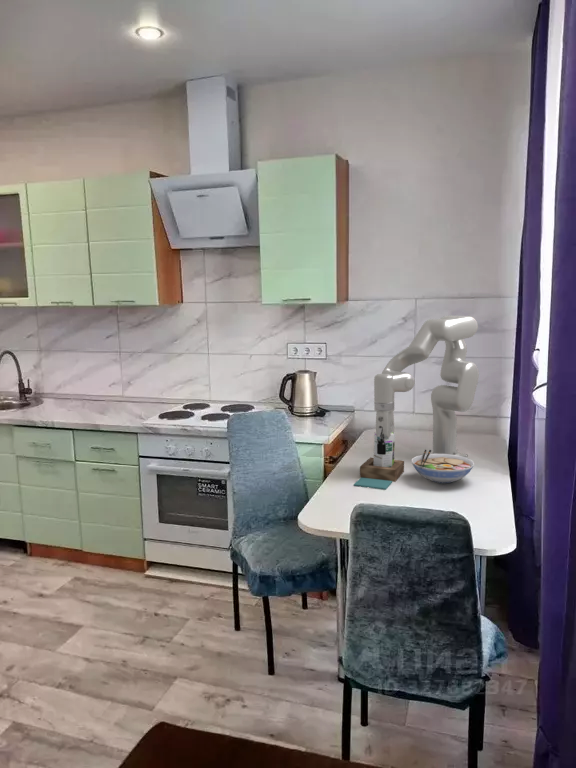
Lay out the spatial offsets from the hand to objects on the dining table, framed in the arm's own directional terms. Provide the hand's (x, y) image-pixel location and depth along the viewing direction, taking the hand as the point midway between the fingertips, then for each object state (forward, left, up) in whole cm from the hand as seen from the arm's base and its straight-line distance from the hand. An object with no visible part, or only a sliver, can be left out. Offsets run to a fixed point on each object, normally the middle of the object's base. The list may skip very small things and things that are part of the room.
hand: (384, 451), depth 230 cm
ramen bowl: (-22, -1, -10) cm, 24 cm away
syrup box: (+1, 0, -7) cm, 7 cm away
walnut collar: (+1, 0, -9) cm, 9 cm away
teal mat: (+1, +13, -9) cm, 16 cm away
